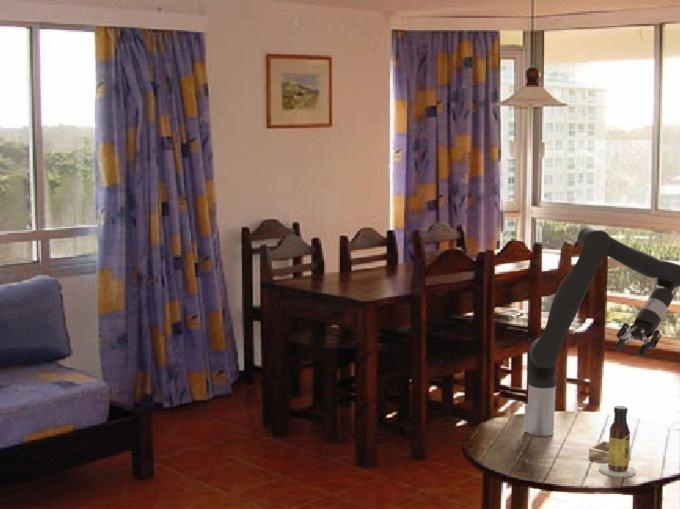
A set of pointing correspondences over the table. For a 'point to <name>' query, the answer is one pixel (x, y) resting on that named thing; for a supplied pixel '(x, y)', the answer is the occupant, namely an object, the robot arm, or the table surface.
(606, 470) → the trivet
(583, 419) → the table surface
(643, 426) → the table surface
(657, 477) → the table surface
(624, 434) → the sauce bottle
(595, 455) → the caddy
